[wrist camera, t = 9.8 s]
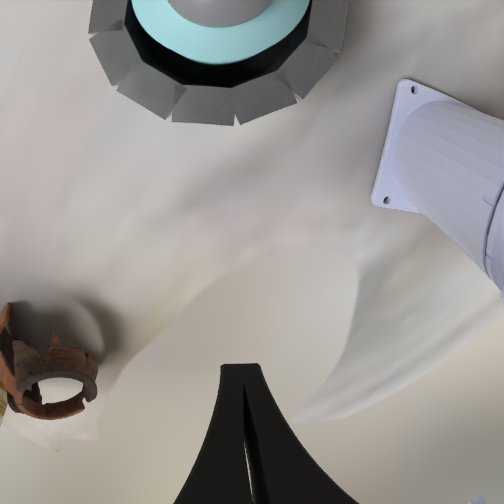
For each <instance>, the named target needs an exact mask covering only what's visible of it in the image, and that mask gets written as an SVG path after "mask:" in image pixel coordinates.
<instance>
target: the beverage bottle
mask: <svg viewBox="0 0 504 504" xmlns="http://www.w3.org/2000/svg"><path fill="white" fill-rule="evenodd" d="M7 404H8V401H7V390H6V388H5V387H4V385H3V383H2V382H1V380H0V426H1V422H2V419H3V416H4V413H5V410H6V407H7Z"/></svg>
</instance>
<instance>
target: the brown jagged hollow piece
mask: <svg viewBox="0 0 504 504" xmlns="http://www.w3.org/2000/svg"><path fill="white" fill-rule="evenodd" d="M11 307H12V305H11V304H10V303H8V304H7V305H6V306H5V307H4V309H3V310H2V313H1V317H0V380H1V382H2V383H3V385H4V387H5V388H6V390H7V401H8V404H9V406H10V408H11V409H12V410H13V411H14V412H16V413H22V414H26V415H29V416H31V417H34V418H37V419H43V420H45V419H46V420H55V419H62V418H67V417H69V416H73V415H75V414H77V413H79V412H81V411H83V410H84V409H85V407H84V404H83V402H82V399H83V398H84V397H85V399H86V401H87V402H91V401H92V400H94V399H95V398H96V396H97V386H96V383H95V380H96V377H97V373H98V367H97V363H96V362H95V360H94V359H93V357H92V356H91V354H89V353H85V352H84V351H83V350H81V349H79V348H76V347H75V348H74V347H71V346H68V345H66V344H64V343H63V342H62V341H61V340H60V338H59V337H58V336H57V335H55V334H54V333H52V339H51V343H50V345H49V347H48V350H47V352H46V355H45V357H44V358H42V357H41V355H40V354H39V353H38V351H37V350H36V349H34V348H32V347H30V346H28V345H26V344H25V343H24V342H23V341H21V340H15V339H13V338H12V337H11V336H10V335H9V333H8V332H7V330H6V328H5V326H6V325H7V323H8V322H9V319H10V317H9V313H10V311H11ZM55 377H57V378H58V377H61V378H71V379H75V380H78V381H80V382H82V383H83V388H82V391H81V392H80V393H78V394H77V395H76V396H74V397H72V398H70V399H68V400H66V401H60V402H57V403H46V404H45V405H43V404H42V396H41V394H40V389H39V386H38V382H39V381H41V380H44V379H48V378H55Z"/></svg>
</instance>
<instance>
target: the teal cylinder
mask: <svg viewBox="0 0 504 504" xmlns="http://www.w3.org/2000/svg"><path fill="white" fill-rule="evenodd" d="M309 1H310V0H132V5H133V9H134V11H135V14H136V17H137V19H138V20H139V22H140V24H141V25H142V27H143V28H144V29H145V30H146V31H147V33H148V34H149V35H150V36H152V37H153V38H154V39H155V40H156V41H158V42H159V43H161V44H162V45H163V46H165V47H167V48H169V49H171V50H173V51H175V52H177V53H178V54H180V55H182V56H184V57H186V58H188V59H190V60H192V61H194V62H197V63H200V64H203V65H209V66H227V65H232V64H236V63H240V62H242V61H245V60H247V59H249V58H251V57H252V56H254V55H256V54H258V53H259V52H261V51H263V50H265V49H267V48H268V47H270V46H272V45H274V44H276V43H277V42H279V41H280V40H281V39H283V38H284V37H286V36H287V35H288V34H289V33H290V32H291V31H292V30H293V29H294V28H295V27H296V25H297V24H298V23H299V22H300V20H301V19H302V17H303V15H304V14H305V12H306V9H307V7H308V4H309Z"/></svg>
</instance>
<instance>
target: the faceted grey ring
mask: <svg viewBox="0 0 504 504" xmlns="http://www.w3.org/2000/svg"><path fill="white" fill-rule="evenodd" d="M349 2H350V1H346V0H310V1H309V4H308V7H307V9H306V12H305V14H304V15H303V17H302V19H301V20H300V22H299V23H298V24H297V25H296V27H295V28H294V29H293V30H292V31H291V32H290V33H289V34H288V35H287V36H286V37H284V38H283V39H281V40H280V41H279V42H277V43H276V44H274V45H272V46H270V47H268V48H267V49H265V50H263V51H261V52H259V53H258V54H256V55H254V56H252V57H251V58H249V59H247V60H245V61H242V62H240V63H236V64H232V65H227V66H209V65H203V64H200V63H197V62H194V61H192V60H190V59H188V58H186V57H184V56H182V55H180V54H178V53H177V52H175V51H173V50H171V49H169V48H167V47H165V46H163V45H162V44H161V43H159V42H158V41H156V40H155V39H154V38H153V37H152V36H150V35H149V34H148V33H147V31H146V30H145V29H144V28H143V27H142V25H141V24H140V22H139V20H138V19H137V17H136V14H135V11H134V9H133V5H132V0H93V4H92V10H91V17H90V24H89V31H88V34H92V35H95V36H93V37H92V38H90V39H89V40H90V42H91V44H92V47H93V49H94V51H95V53H96V55H97V57H98V59H99V61H100V63H101V65H102V67H103V69H104V71H105V73H106V75H107V77H108V79H109V81H110V83H111V85H112V86H116V85H119V87H118V89H117V90H116V91H118V92H120V93H121V94H123V95H125V96H126V97H128V98H130V99H132V100H133V101H135V102H137V103H138V104H140V105H142V106H143V107H145V108H147V109H148V110H150V111H152V112H153V113H155V114H156V115H158V116H160V117H161V118H163V119H165V120H166V119H167V118H168V117H169V116H170V115H172V122H185V123H202V124H216V125H228V126H233V125H234V117H235V114H236V117H237V119H238V121H239V123H240V125H241V124H244V123H246V122H249V121H251V120H254V119H256V118H259V117H261V116H264V115H266V114H269V113H271V112H274V111H277V110H279V109H282V108H285V107H287V106H290V105H293V104H296V103H297V101H296V99H295V97H297V98H301V99H303V98H304V97H305V96H306V95H307V94H308V92H309V91H310V90H311V89H312V88H313V87H314V85H315V84H316V83H317V82H318V81H319V80H320V79H321V77H322V76H323V75H324V74H325V73H326V72H327V71H328V70H329V68H330V67H331V66H332V65H333V64H334V63H335V62H336V61H337V60H338V58H339V57H338V56H337V55H336V54H335V53H338V52H342V49H343V43H344V36H345V30H346V23H347V16H348V9H349Z"/></svg>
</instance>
